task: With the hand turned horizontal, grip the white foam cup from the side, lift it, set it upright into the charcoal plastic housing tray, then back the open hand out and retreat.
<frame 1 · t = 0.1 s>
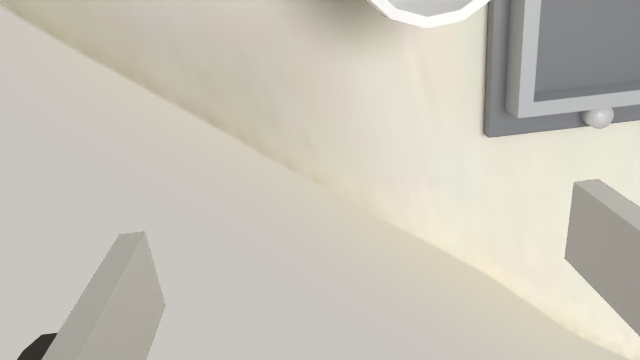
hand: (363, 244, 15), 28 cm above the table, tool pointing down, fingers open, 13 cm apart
housing: (596, 4, 40), on the table
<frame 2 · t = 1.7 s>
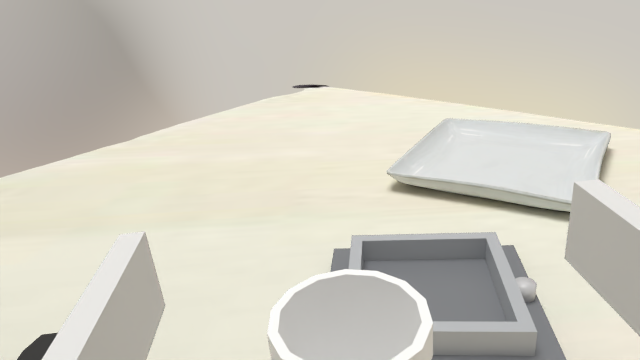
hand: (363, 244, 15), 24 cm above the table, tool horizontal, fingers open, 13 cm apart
housing: (428, 306, 48), on the table
square plate: (501, 172, 76), on the table
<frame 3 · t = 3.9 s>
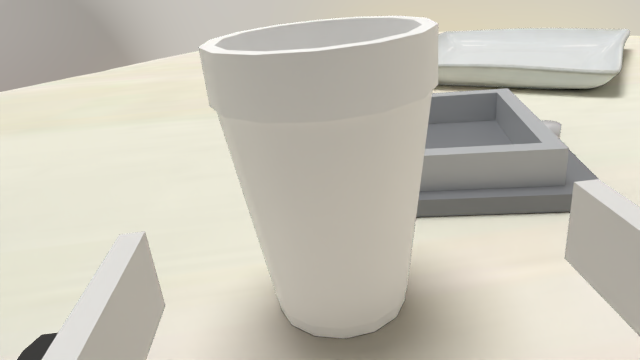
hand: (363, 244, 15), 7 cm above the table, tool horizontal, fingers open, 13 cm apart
foam cup: (342, 298, 25), on the table
housing: (429, 162, 40), on the table
square plate: (508, 72, 68), on the table
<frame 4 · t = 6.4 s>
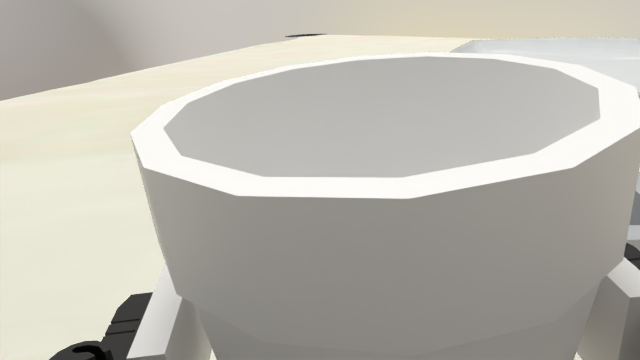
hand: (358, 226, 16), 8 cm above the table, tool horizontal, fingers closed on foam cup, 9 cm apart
housing: (486, 228, 30), on the table
square plate: (553, 90, 58), on the table
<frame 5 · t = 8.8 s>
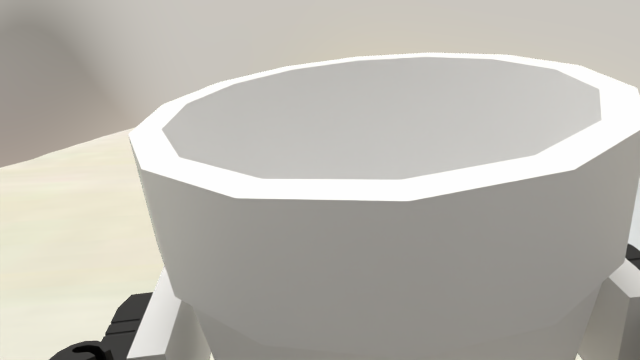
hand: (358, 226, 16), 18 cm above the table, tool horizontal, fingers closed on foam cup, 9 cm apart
square plate: (506, 204, 56), on the table
when the fingers open (10 cm above the table, at t = 11.3 s): foam cup drops 1 cm, resting on housing.
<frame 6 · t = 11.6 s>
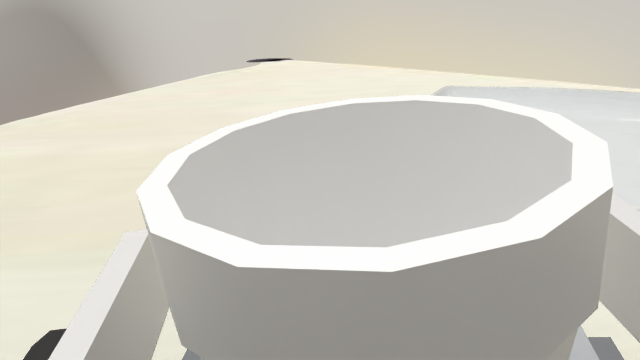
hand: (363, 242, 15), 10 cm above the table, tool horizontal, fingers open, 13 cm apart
square plate: (541, 167, 44), on the table
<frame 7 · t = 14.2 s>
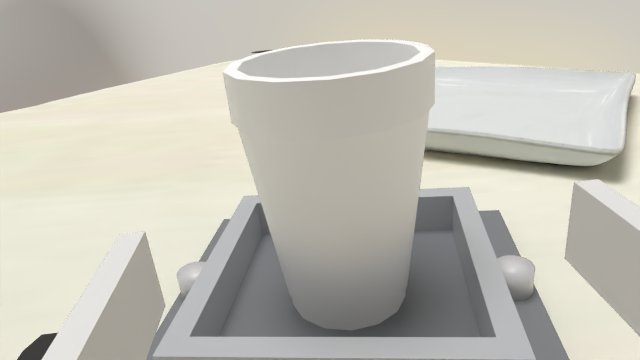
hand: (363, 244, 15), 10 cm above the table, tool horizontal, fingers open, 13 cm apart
foam cup: (348, 294, 28), point 1 cm above the table, touching housing
housing: (350, 308, 28), on the table
square plate: (488, 125, 56), on the table
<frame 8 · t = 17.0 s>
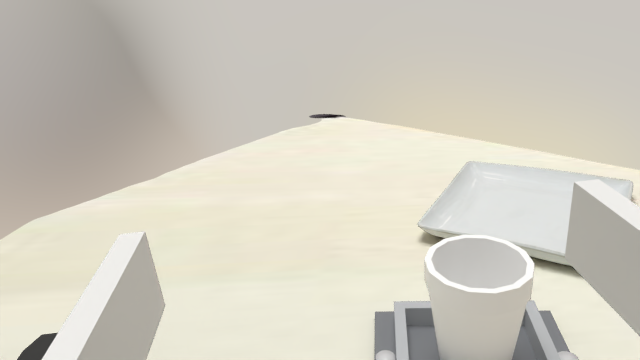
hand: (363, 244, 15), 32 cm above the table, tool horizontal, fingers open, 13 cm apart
square plate: (527, 222, 78), on the table
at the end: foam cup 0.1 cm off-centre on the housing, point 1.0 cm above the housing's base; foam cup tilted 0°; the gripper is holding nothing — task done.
